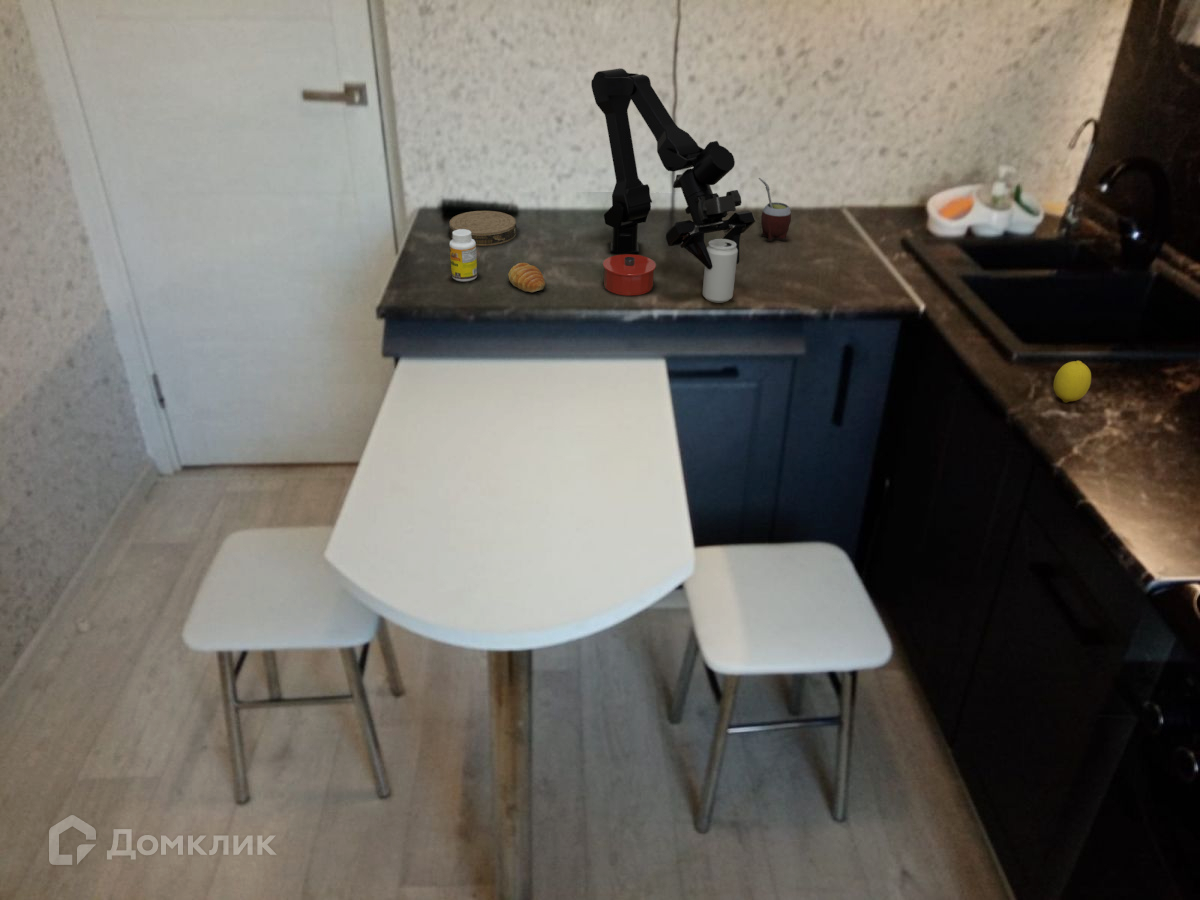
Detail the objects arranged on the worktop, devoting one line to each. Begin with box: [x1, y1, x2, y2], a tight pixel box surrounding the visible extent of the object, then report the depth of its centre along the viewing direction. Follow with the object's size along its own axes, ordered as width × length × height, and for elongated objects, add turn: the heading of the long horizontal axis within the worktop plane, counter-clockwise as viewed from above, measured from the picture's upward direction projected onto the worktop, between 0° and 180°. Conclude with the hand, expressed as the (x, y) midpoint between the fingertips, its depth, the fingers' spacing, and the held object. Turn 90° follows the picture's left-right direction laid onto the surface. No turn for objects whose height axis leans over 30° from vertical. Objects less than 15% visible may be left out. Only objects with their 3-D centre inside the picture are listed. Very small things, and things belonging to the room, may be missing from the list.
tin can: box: [449, 210, 517, 247], centre depth 219 cm, size 16×16×3 cm
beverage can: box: [701, 238, 738, 304], centre depth 188 cm, size 6×6×12 cm
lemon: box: [1052, 360, 1092, 403], centre depth 155 cm, size 6×6×8 cm
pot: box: [603, 267, 655, 296], centre depth 194 cm, size 10×10×4 cm
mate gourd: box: [758, 177, 792, 243], centre depth 217 cm, size 8×8×15 cm
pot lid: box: [602, 253, 657, 276], centre depth 193 cm, size 11×11×2 cm
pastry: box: [507, 262, 546, 293], centre depth 193 cm, size 9×7×4 cm
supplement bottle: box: [448, 229, 478, 283], centre depth 195 cm, size 6×6×10 cm
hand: (724, 266), depth 186 cm, fingers closed on beverage can, 6 cm apart
